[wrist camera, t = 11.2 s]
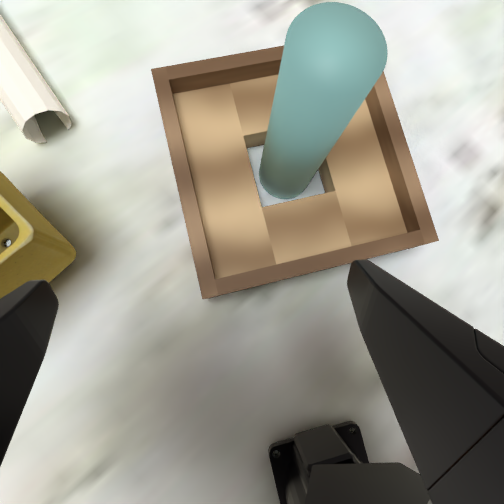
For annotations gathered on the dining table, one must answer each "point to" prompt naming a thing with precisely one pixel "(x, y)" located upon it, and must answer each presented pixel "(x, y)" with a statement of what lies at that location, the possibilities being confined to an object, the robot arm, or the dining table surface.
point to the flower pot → (28, 242)
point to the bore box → (292, 212)
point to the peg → (318, 91)
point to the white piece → (24, 87)
